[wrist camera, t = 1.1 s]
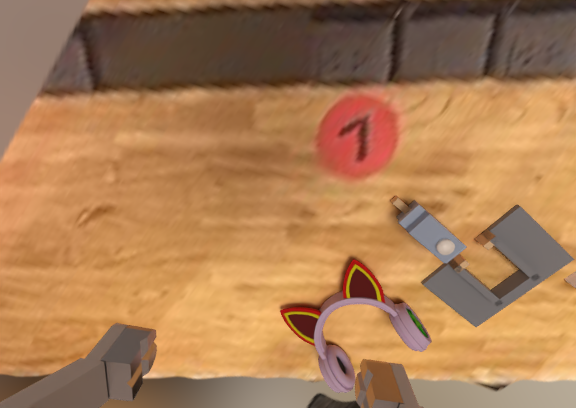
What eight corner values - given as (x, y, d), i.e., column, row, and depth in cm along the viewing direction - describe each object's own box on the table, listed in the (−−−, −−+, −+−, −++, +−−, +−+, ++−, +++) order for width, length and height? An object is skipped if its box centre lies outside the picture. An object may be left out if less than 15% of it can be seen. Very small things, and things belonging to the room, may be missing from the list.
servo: (401, 188, 46) (417, 203, 40) (452, 233, 49) (475, 254, 42) (383, 206, 47) (396, 223, 41) (433, 249, 50) (453, 271, 44)
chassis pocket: (516, 204, 46) (528, 210, 44) (570, 256, 49) (583, 265, 47) (421, 281, 52) (426, 290, 50) (473, 324, 55) (481, 334, 53)
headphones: (348, 403, 54) (275, 354, 47) (338, 355, 63) (275, 308, 56) (440, 354, 48) (374, 290, 41) (415, 309, 57) (356, 250, 50)
